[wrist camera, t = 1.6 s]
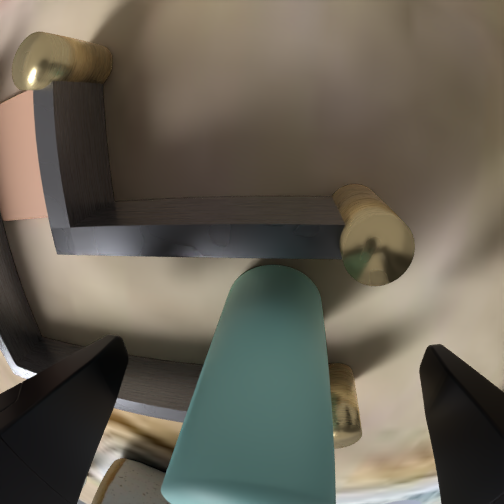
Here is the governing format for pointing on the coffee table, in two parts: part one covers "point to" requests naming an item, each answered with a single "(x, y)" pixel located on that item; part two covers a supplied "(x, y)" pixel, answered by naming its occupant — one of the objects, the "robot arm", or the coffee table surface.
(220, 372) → the peg
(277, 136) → the coffee table surface
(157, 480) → the ceramic mug
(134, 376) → the metal rail track
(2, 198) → the pad
